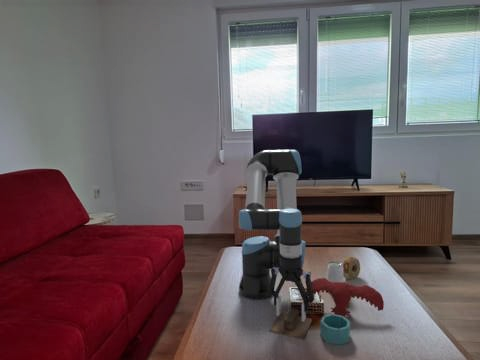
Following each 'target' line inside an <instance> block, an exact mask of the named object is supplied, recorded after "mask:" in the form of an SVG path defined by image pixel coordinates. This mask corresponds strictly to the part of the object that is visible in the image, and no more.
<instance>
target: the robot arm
mask: <svg viewBox="0 0 480 360" xmlns="http://www.w3.org/2000/svg"><path fill="white" fill-rule="evenodd" d="M302 167H303V166H302V160H301V155H300V153H299V150H296V149H264V150H261V151H260V152H257V153H255V154H254V155H253V156H252V157H251V158H250V160H249V162H248V163H247V165H246V171H245V173H246V176H247V185H246V186H247V187H246V195H245V196H246V197H245V198H246V199H245V208H244V209H240V210H239V212H238V227H239V229H240V230H244V231H245V230H246V231H248V230H249V231H260V230H266V231H267V230H268V231H271V230H272V231H276V230H277V232H276V234H275V235H274V236H273V237H274V238H273V240H270V239H269V237H268V236H263V235H260V236H259V235H258V236H253V237H248V238H247V239H245V240H244V241H243V242H242V245H241V257H242V258H241V259H242V261H241V263H242V264H241V265H242V269H241V270H242V274H241V278H240V282H239V285H238V293H239V294H240V296H241V297H242V298H243V297H244V298H246V299H248V300H264V299H267V298H270V297H271V296H272V297H273V305H274V306H276V317H277V316H279V315H280V313H281V312H282V295H281V294H280V293H281V290H282V288H283V286H284V284H285V282H291V283H294V285H295V286H296V288H297V289H298V292H299V294H300V296H301V297H300V298H302V302H301V317H302V322H304V321H305V319H306V318H307V313H308V312H309V307H310V304H312V303H313V302H314V300H315V296H314V295H315V294H314V293H313V289H312V283H311V281H312V271H308V272H307V271H305V270H303V267H304V265H305V256H306V241H305V240H302V239H303V238H302V231H303V225H302V224H303V217H302V212H301V210H300V209H298V207H297V185H296V181H297V180H298V179H299V177H300V175H301V174H302V172H303V171H302ZM267 176H272V179H273V180H274V181H276V208H277V209H276V208H272V209H271V208H270V209H268V208H267V209H266V206H265V205H266V201H265V200H266V177H267ZM278 274H280V276H281V279H280V281H279V283H278V285H277V287H276V281H277V275H278ZM302 277H303V279H304V280H305V286H306V287H305V286H304V284H303V282H302V281H303V280H302ZM275 287H276V289H275ZM306 290H307V292H308V295H307V293H306Z"/></svg>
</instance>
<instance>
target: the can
mask: <svg viewBox="0 0 480 360" xmlns="http://www.w3.org/2000/svg"><path fill="white" fill-rule="evenodd" d="M326 271H327V274H326V275H327V277H326V279H327V280H328V281H330V282H344V276H343V263H342V262H340V261H334V260H333V261H330V262H328V265H327V270H326Z"/></svg>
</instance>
